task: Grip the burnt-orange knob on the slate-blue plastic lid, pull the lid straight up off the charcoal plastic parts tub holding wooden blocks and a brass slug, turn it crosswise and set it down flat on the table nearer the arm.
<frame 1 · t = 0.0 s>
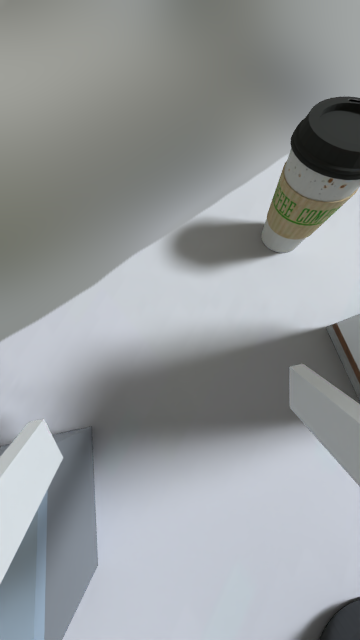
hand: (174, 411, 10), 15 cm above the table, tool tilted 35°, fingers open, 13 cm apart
coffee cup: (279, 238, 32), on the table
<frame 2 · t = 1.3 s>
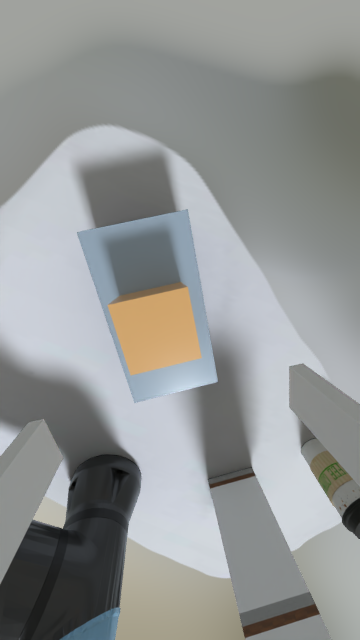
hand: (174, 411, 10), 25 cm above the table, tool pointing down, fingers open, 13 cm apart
tall white vase: (232, 486, 49), on the table
lid: (157, 316, 26), point 8 cm above the table, touching tub
coffee cup: (312, 447, 49), on the table
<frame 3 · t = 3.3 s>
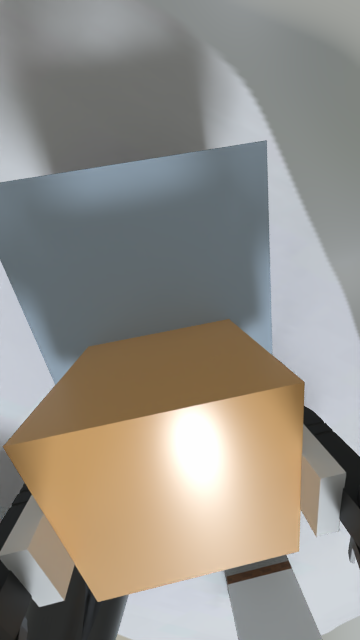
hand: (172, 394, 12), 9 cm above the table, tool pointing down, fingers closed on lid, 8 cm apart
tall white vase: (255, 572, 36), on the table
lid: (171, 381, 13), point 8 cm above the table, touching gripper, tub
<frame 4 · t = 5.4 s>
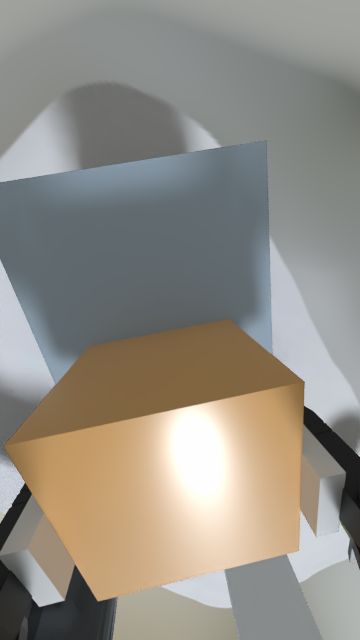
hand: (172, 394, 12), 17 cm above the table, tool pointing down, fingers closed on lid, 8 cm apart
tall white vase: (239, 518, 44), on the table
lid: (171, 381, 13), point 16 cm above the table, touching gripper
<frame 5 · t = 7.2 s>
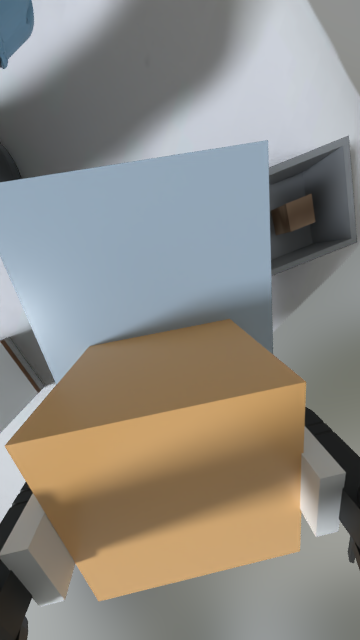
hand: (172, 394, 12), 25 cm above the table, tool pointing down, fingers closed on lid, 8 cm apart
tall white vase: (2, 372, 37), on the table
tub: (243, 235, 33), on the table
lid: (172, 381, 13), point 24 cm above the table, touching gripper
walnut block: (284, 218, 32), point 1 cm above the table, touching tub
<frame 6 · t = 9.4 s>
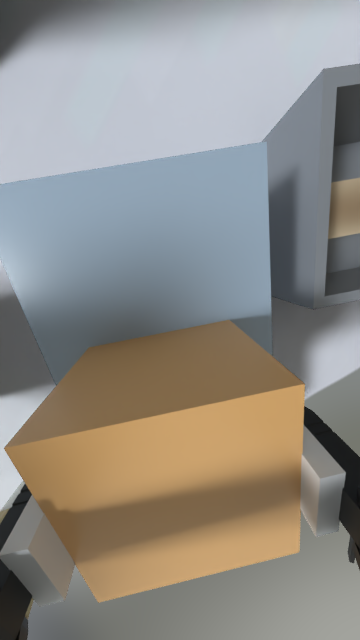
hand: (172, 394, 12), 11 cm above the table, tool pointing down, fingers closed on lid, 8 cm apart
lid: (172, 382, 13), point 9 cm above the table, touching gripper
pale wood block: (308, 219, 19), point 1 cm above the table, touching tub
when the fingers open (5 cm above the table, at t = 11.0 s): lid drops 3 cm, point 1 cm above the table.
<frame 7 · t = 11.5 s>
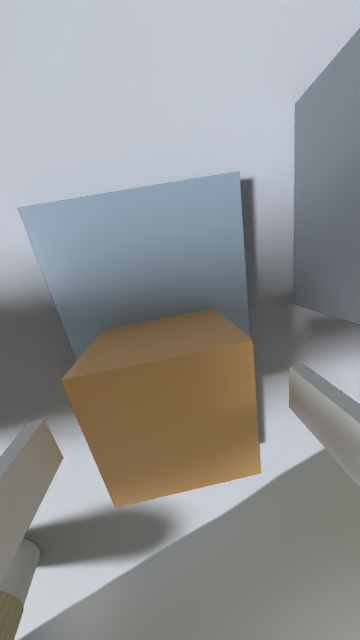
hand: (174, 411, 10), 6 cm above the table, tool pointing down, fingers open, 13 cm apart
lid: (169, 360, 16), point 1 cm above the table
coffee cup: (11, 551, 22), on the table
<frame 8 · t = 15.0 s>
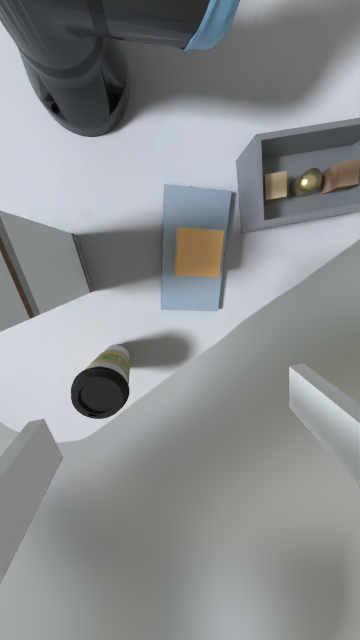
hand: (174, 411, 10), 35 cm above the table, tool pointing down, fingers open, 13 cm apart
tall white vase: (59, 268, 40), on the table
tub: (295, 188, 39), on the table
brass slug: (297, 187, 39), point 1 cm above the table, touching tub
lid: (193, 254, 41), point 1 cm above the table
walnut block: (330, 181, 39), point 1 cm above the table, touching tub
pale wood block: (264, 193, 38), point 1 cm above the table, touching tub
coffee cup: (117, 356, 47), on the table
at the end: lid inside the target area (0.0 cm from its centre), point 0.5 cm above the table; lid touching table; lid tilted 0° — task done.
